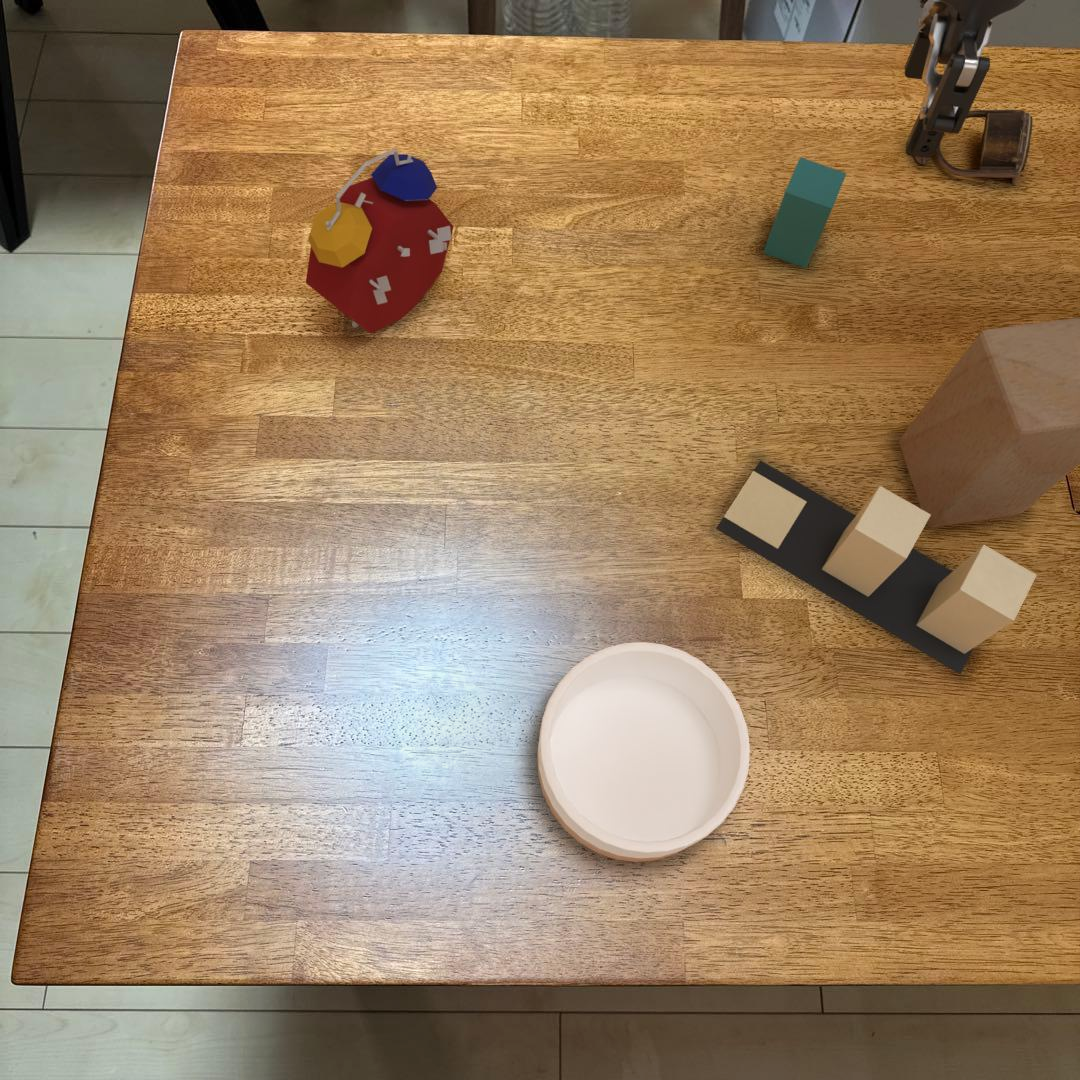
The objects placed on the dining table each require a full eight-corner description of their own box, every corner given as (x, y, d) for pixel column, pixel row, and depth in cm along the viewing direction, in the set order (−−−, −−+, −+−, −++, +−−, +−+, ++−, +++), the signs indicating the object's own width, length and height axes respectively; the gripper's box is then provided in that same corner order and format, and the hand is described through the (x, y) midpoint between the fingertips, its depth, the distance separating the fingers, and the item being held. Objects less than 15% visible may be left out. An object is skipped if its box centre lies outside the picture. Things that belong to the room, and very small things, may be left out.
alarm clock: (415, 241, 111) (397, 97, 93) (473, 285, 109) (467, 148, 91) (317, 325, 107) (277, 192, 88) (375, 373, 105) (348, 247, 86)
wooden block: (1021, 516, 101) (1137, 416, 82) (925, 530, 100) (1021, 432, 81) (988, 428, 104) (1092, 313, 86) (895, 440, 104) (980, 327, 85)
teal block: (818, 237, 113) (846, 173, 104) (805, 270, 111) (832, 208, 102) (776, 222, 114) (800, 156, 105) (762, 255, 112) (785, 191, 103)
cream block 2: (986, 611, 96) (1037, 574, 87) (964, 654, 95) (1014, 620, 85) (938, 583, 97) (983, 544, 88) (915, 625, 96) (959, 589, 86)
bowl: (743, 691, 93) (764, 666, 85) (713, 884, 87) (733, 876, 79) (559, 648, 94) (564, 620, 86) (516, 836, 88) (517, 824, 80)
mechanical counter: (1023, 185, 110) (1068, 113, 111) (920, 124, 111) (966, 54, 112) (994, 216, 117) (1037, 149, 118) (898, 159, 118) (942, 93, 119)
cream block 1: (891, 556, 98) (931, 514, 89) (868, 597, 96) (906, 558, 87) (845, 529, 99) (880, 485, 90) (821, 569, 97) (854, 528, 88)
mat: (997, 599, 97) (999, 597, 97) (958, 675, 94) (960, 674, 94) (759, 462, 102) (760, 459, 102) (715, 530, 99) (716, 528, 99)
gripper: (1070, -5, 63) (967, 186, 78) (1054, -148, 69) (962, 56, 84) (948, -18, 63) (869, 175, 78) (943, -159, 69) (870, 46, 84)
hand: (917, 113), depth 81 cm, fingers open, 8 cm apart
